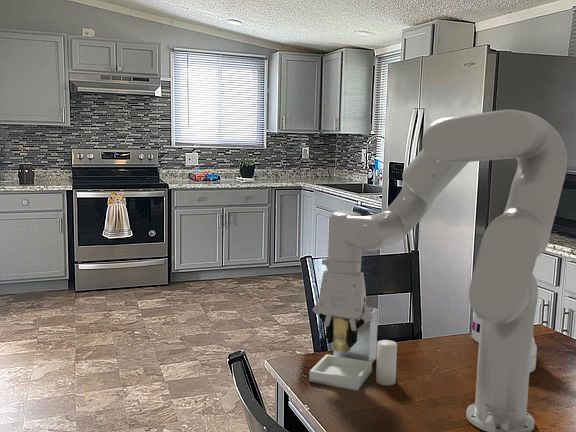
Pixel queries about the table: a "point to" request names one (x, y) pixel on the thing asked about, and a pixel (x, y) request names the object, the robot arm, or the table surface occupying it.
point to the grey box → (364, 340)
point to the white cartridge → (386, 362)
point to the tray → (340, 372)
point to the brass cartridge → (340, 334)
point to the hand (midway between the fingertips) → (341, 343)
